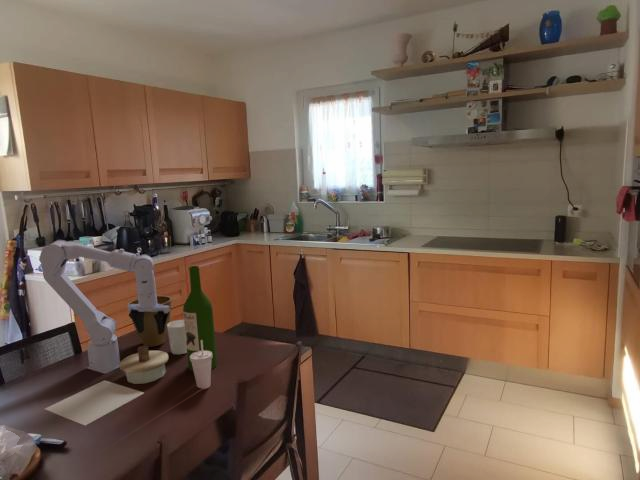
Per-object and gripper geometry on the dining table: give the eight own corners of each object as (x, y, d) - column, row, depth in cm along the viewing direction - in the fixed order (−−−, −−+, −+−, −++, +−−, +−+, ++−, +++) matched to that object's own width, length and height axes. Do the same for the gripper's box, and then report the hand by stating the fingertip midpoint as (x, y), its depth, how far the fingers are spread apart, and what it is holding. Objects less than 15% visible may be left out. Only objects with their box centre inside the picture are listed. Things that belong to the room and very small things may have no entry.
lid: (109, 367, 136) (107, 352, 136) (147, 350, 148) (146, 336, 147) (141, 376, 129) (139, 360, 129) (178, 357, 141) (176, 342, 141)
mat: (44, 410, 122) (44, 408, 122) (104, 381, 137) (104, 380, 137) (85, 427, 113) (85, 425, 113) (144, 394, 128) (144, 392, 128)
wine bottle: (182, 370, 143) (172, 269, 138) (200, 358, 151) (191, 263, 146) (206, 373, 140) (196, 271, 134) (222, 361, 148) (214, 264, 142)
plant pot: (183, 337, 171) (179, 296, 168) (156, 353, 157) (151, 308, 154) (152, 333, 176) (147, 294, 173) (123, 348, 162) (118, 305, 160)
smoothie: (209, 392, 128) (205, 345, 126) (188, 390, 129) (183, 344, 127) (218, 381, 134) (214, 336, 132) (198, 380, 136) (194, 335, 133)
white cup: (172, 347, 162) (169, 320, 160) (195, 345, 163) (192, 318, 161) (167, 356, 154) (164, 328, 153) (190, 354, 155) (188, 326, 153)
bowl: (119, 381, 138) (117, 366, 137) (148, 366, 147) (147, 352, 146) (143, 388, 132) (142, 373, 132) (172, 372, 142) (171, 358, 141)
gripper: (119, 295, 145) (124, 335, 147) (159, 297, 141) (163, 338, 143) (133, 289, 152) (138, 328, 154) (171, 290, 148) (176, 330, 150)
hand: (151, 332), depth 149 cm, fingers open, 7 cm apart
